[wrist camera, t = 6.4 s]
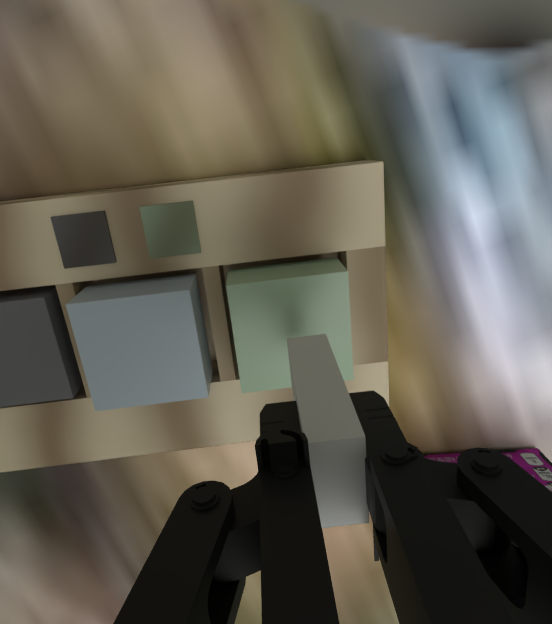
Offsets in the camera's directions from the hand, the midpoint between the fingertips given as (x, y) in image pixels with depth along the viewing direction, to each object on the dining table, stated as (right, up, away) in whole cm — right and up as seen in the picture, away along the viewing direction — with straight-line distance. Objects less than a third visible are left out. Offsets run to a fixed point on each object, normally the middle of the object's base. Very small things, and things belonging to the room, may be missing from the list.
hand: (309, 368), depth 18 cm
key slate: (-8, +1, +6) cm, 10 cm away
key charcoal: (-15, +1, +7) cm, 16 cm away
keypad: (-8, +2, +8) cm, 11 cm away
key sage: (-1, +2, +6) cm, 6 cm away
